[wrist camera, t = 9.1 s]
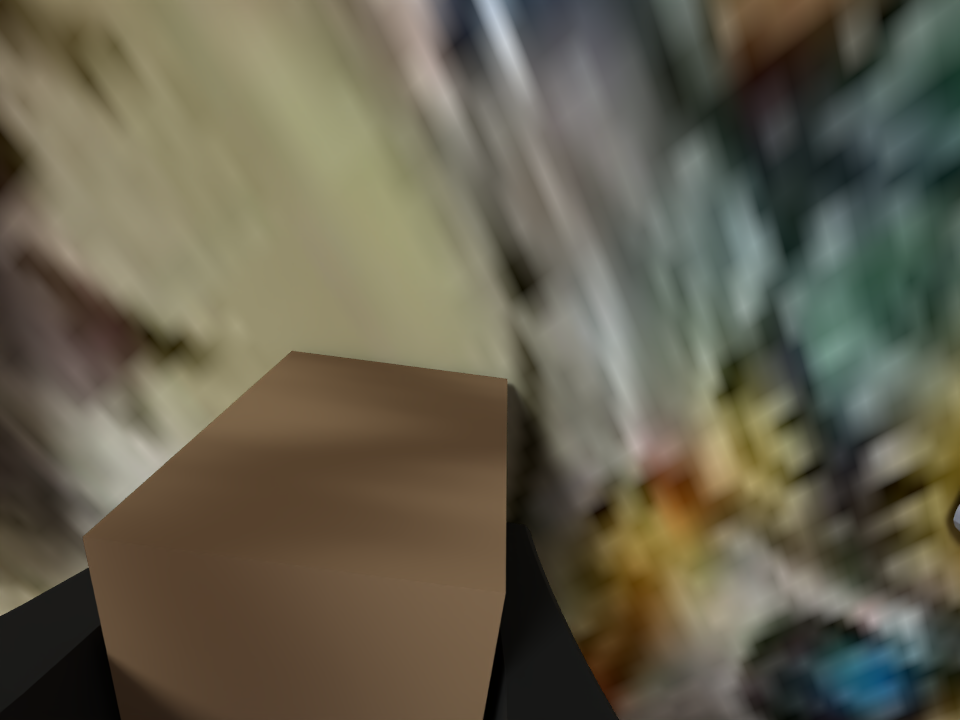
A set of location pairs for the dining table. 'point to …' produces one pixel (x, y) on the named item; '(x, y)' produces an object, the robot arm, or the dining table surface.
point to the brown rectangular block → (315, 552)
